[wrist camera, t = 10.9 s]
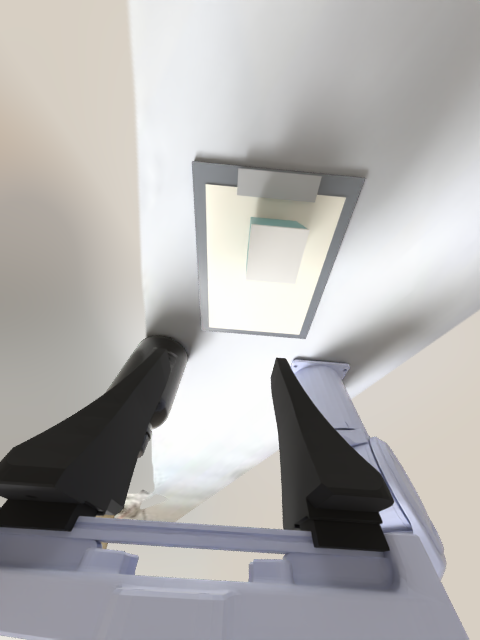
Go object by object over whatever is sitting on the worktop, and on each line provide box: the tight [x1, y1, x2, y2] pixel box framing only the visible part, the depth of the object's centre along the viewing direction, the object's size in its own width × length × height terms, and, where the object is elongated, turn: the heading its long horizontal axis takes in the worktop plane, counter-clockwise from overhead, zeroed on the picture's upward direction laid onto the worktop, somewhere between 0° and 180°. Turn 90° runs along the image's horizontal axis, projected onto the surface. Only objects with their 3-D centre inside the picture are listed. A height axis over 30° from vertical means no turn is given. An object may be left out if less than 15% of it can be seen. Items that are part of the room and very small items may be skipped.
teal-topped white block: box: [246, 217, 310, 284], centre depth 14 cm, size 4×4×5 cm
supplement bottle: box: [107, 336, 187, 458], centre depth 21 cm, size 7×7×12 cm
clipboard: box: [192, 161, 365, 339], centre depth 18 cm, size 16×13×1 cm
